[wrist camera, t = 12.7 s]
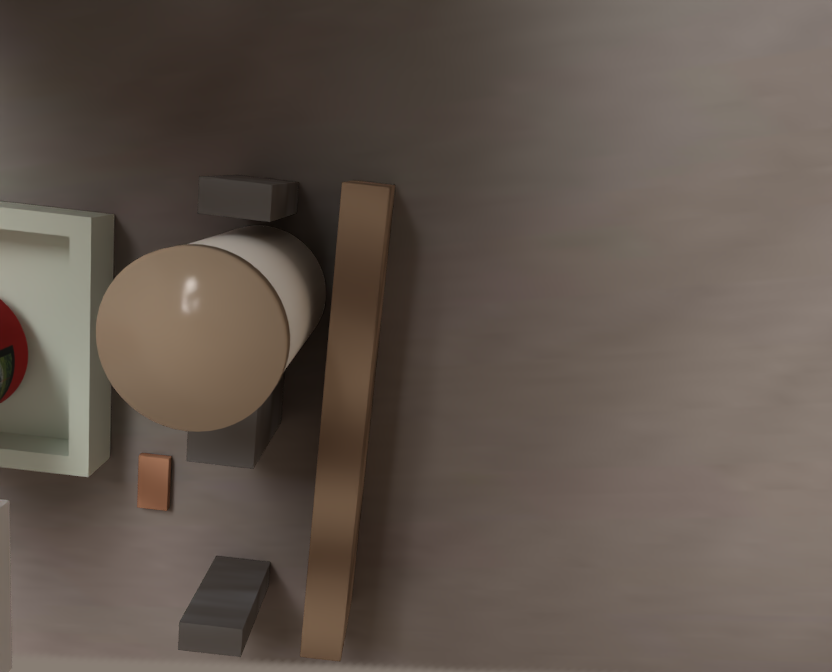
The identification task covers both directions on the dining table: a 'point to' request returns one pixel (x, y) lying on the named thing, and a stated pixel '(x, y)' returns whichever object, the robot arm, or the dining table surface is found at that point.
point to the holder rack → (247, 439)
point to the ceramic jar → (209, 325)
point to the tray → (56, 337)
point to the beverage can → (11, 352)
